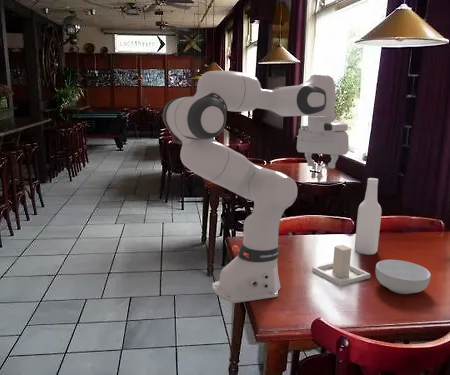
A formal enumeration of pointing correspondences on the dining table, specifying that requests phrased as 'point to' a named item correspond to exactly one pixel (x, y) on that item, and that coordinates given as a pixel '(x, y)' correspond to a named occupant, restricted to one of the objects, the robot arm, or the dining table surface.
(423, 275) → the cereal bowl
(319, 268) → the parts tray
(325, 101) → the robot arm
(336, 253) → the stone block
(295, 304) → the dining table surface
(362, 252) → the alcohol
